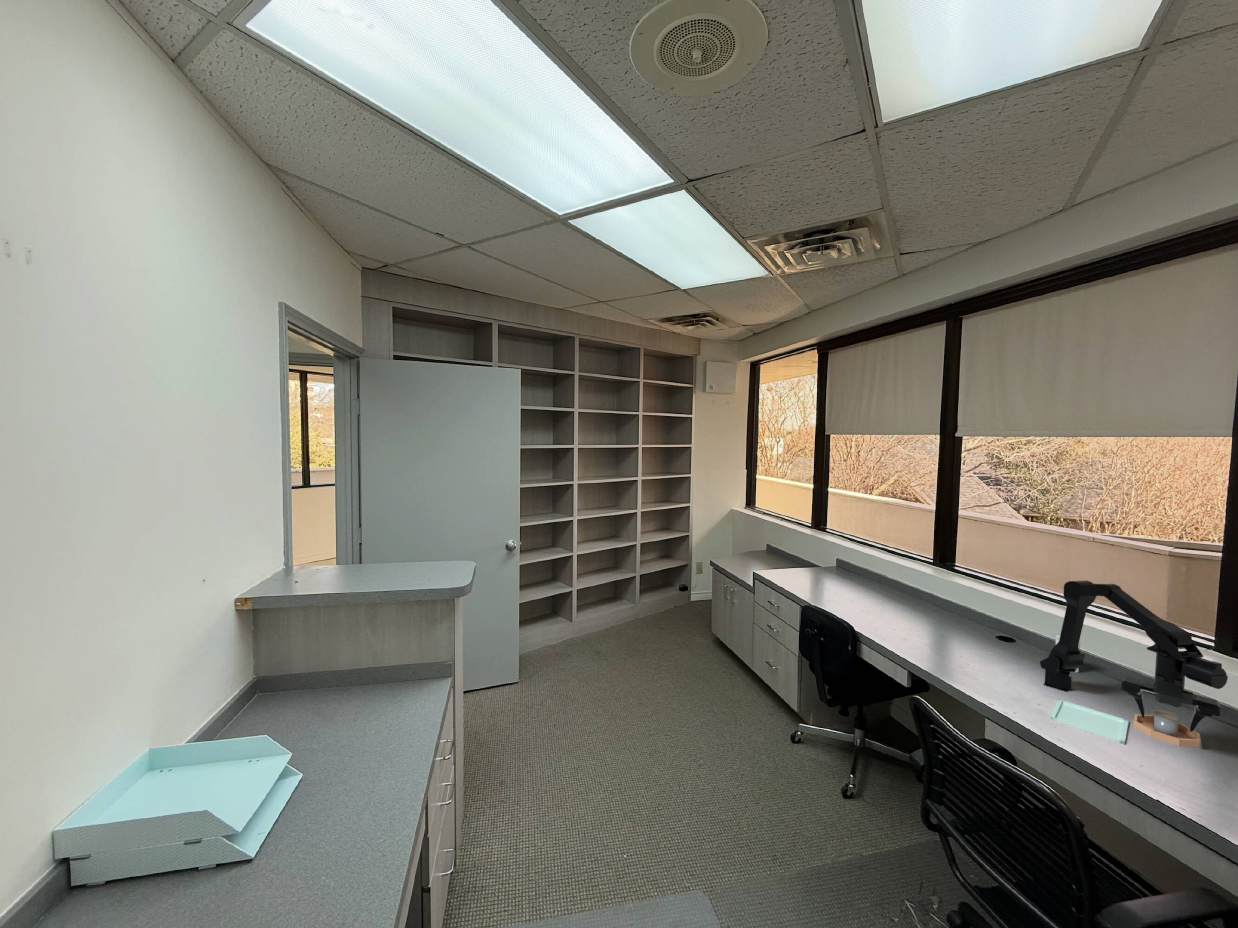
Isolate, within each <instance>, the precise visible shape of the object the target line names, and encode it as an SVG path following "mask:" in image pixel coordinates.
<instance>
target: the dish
mask: <svg viewBox="0 0 1238 928" xmlns="http://www.w3.org/2000/svg"><path fill="white" fill-rule="evenodd" d="M1154 716H1155V714H1144V718H1143V717H1142V715H1141V714H1137V713H1134V718H1133V726H1132V727H1133V728H1135V729H1136V730H1138V731H1139V732H1141V733H1143V734H1145V735H1147V736H1149V737H1150V738H1152V739H1155V740H1158V741H1162V742H1165V743H1168V744H1171V745H1174V746H1178V747H1185V748H1186V747H1187V748H1201V747H1200V745H1201V734H1200V733H1199V732H1197V731H1196V730H1195V729H1194V730H1193V732H1190V727H1188V726H1186V725H1184V724H1182V723H1180V722H1178V735H1177V738H1176V737H1173V736H1169V735H1166V734H1163V733H1160V732H1156V731H1153V730H1154Z"/></svg>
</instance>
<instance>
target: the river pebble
mask: <svg viewBox="0 0 1238 928" xmlns="http://www.w3.org/2000/svg"><path fill="white" fill-rule="evenodd" d="M1155 715H1160V716H1165V717H1168V718H1171V719H1174V720H1175V721H1177V722H1178V723H1179V716H1178V715H1177V714H1175V713H1174V712H1171V711H1168V710H1165V709H1154V716H1155Z"/></svg>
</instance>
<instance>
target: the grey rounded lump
mask: <svg viewBox="0 0 1238 928" xmlns="http://www.w3.org/2000/svg"><path fill="white" fill-rule="evenodd" d="M1178 723H1179V721H1178V722H1177V721H1175V720H1174V719H1171V718H1168V717H1165V716H1160V715H1155V714H1154V730H1153V731H1156V732H1160V733H1163V734H1166V735H1169V736H1173V737H1176V738H1177V735H1178Z"/></svg>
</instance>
